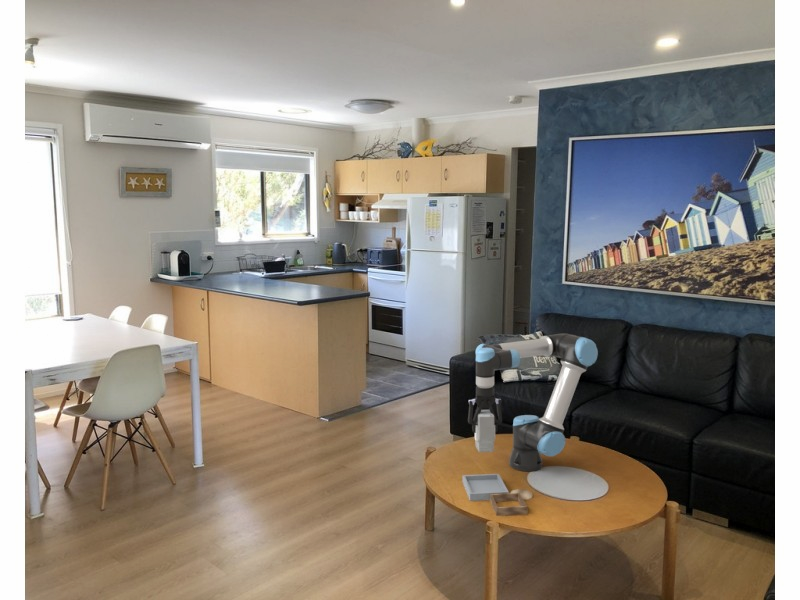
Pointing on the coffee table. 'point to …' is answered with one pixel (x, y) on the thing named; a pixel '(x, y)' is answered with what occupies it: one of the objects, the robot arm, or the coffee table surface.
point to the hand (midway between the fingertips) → (484, 439)
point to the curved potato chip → (523, 493)
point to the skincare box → (485, 432)
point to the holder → (508, 510)
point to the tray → (483, 486)
